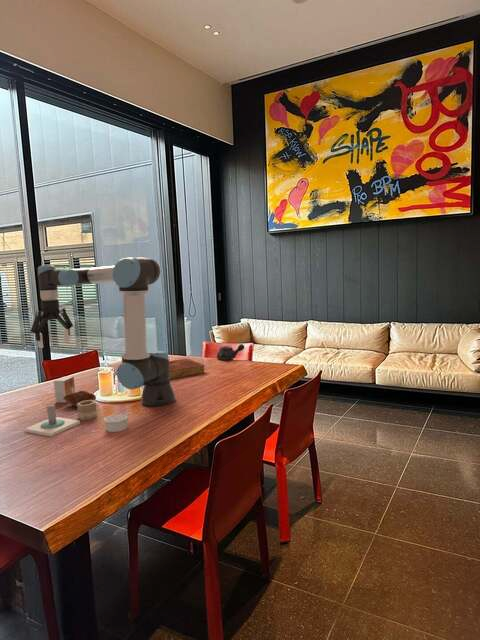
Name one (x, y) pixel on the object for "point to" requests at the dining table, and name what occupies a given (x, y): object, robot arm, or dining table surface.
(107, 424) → the ramekin
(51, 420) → the post stand
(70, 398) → the fossil
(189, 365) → the book
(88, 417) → the maple ring
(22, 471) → the dining table surface
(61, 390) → the small box
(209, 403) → the dining table surface
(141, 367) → the robot arm
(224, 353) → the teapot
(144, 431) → the dining table surface
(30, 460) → the dining table surface
